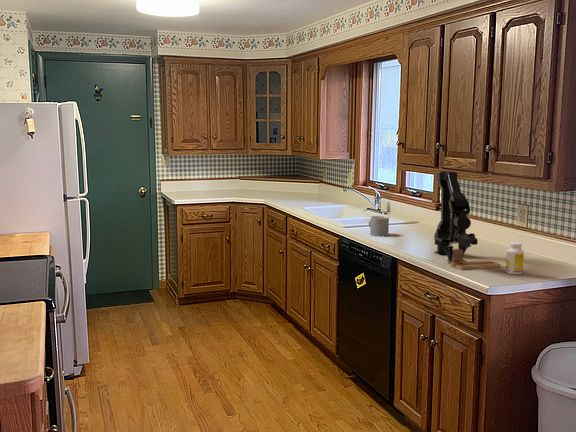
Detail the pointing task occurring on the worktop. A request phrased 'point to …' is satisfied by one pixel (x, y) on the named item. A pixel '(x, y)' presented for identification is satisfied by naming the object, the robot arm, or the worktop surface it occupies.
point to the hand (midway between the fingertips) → (455, 260)
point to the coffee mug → (379, 226)
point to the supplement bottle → (514, 259)
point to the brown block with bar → (457, 256)
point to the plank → (475, 264)
